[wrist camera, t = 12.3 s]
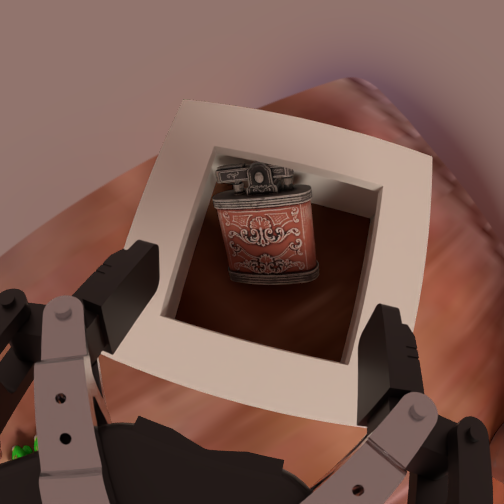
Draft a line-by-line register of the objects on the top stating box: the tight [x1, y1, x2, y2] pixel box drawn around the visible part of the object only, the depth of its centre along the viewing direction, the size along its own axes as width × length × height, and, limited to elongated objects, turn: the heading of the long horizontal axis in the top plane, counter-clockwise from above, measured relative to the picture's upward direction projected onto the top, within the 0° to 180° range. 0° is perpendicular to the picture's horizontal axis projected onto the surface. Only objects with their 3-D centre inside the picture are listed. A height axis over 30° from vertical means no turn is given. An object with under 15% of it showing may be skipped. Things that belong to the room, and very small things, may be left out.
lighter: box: [212, 161, 319, 285], centre depth 26 cm, size 8×3×10 cm
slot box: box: [101, 99, 432, 428], centre depth 24 cm, size 18×18×12 cm
